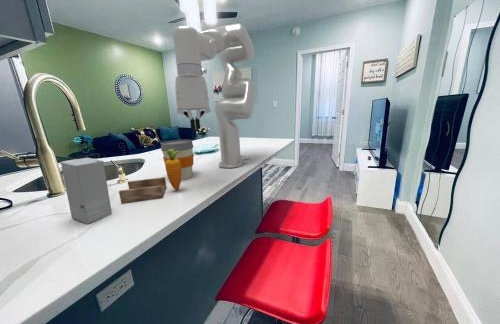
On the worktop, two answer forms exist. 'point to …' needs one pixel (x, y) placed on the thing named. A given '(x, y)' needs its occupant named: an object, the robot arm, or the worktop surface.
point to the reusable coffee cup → (180, 155)
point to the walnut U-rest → (143, 190)
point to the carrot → (173, 169)
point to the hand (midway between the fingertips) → (195, 131)
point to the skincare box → (86, 189)
